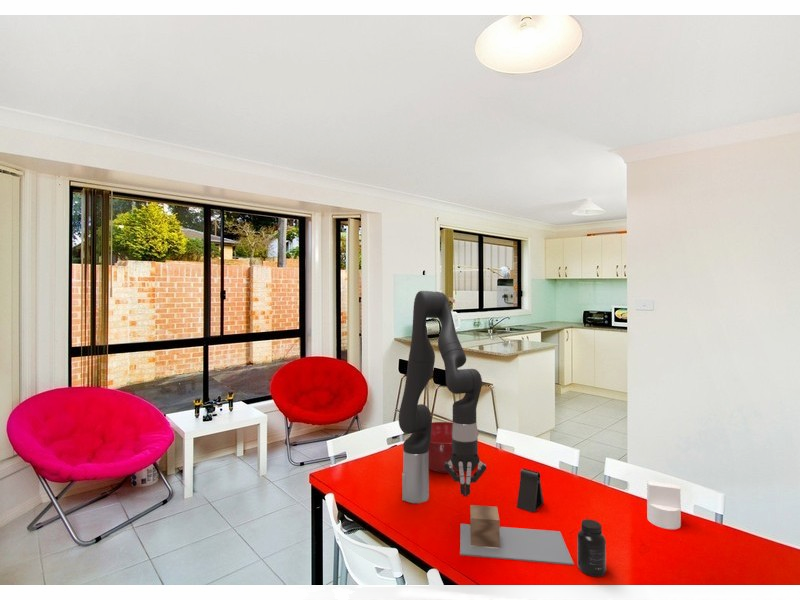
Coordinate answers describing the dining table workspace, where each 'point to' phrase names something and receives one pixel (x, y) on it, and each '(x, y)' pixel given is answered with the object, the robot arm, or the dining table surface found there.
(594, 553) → the supplement bottle
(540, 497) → the black coffee bag
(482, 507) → the walnut block
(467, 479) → the robot arm
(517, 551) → the rubber mat
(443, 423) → the mixing bowl
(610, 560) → the dining table surface
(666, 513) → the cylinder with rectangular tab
